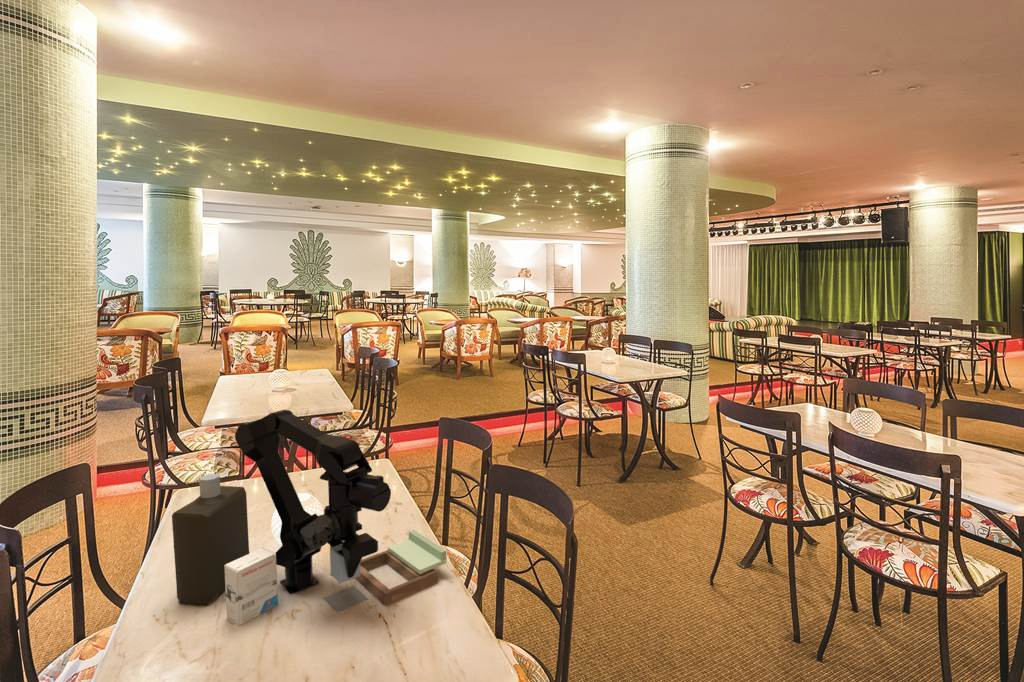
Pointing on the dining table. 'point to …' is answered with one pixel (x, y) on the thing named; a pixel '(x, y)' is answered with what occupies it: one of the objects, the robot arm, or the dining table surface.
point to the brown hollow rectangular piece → (414, 578)
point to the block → (340, 565)
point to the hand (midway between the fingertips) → (345, 572)
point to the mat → (345, 598)
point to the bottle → (208, 540)
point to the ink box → (251, 585)
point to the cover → (419, 553)
